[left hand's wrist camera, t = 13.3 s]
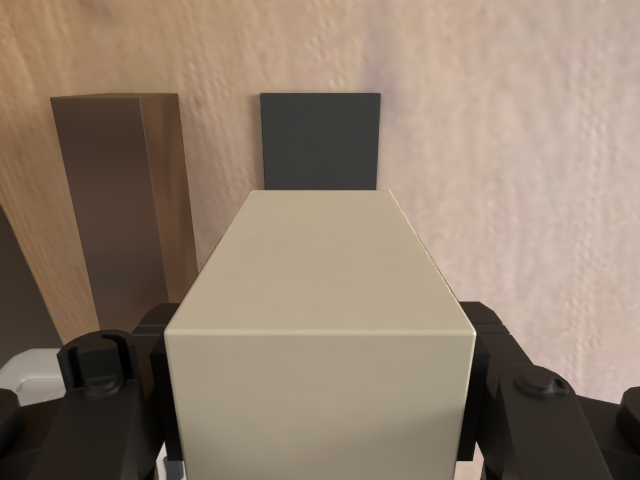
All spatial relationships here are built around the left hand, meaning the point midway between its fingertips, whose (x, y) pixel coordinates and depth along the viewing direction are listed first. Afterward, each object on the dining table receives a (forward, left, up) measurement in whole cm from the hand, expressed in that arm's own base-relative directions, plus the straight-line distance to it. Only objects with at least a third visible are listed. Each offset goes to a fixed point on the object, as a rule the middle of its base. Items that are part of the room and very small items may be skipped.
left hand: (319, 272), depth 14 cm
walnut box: (+8, -15, -24) cm, 30 cm away
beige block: (0, 0, -2) cm, 2 cm away
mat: (0, 0, -24) cm, 24 cm away
